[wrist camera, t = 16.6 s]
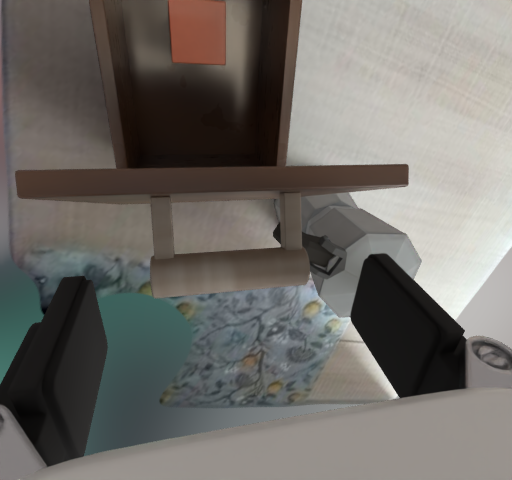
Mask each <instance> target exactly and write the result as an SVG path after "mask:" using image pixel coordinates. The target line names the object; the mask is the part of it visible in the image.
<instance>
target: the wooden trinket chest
mask: <svg viewBox="0 0 512 480" xmlns="http://www.w3.org/2000/svg"><path fill="white" fill-rule="evenodd" d="M217 1H225V2H226V64H225V65H208V64H187V63H173V62H172V57H171V42H170V27H169V12H168V0H89V5H90V11H91V17H92V23H93V30H94V36H95V42H96V48H97V54H98V60H99V66H100V72H101V78H102V84H103V90H104V96H105V102H106V108H107V114H108V120H109V126H110V132H111V138H112V144H113V150H114V156H115V162H116V168H117V169H128V168H192V167H256V166H286V158H287V148H288V138H289V128H290V118H291V108H292V98H293V87H294V77H295V67H296V57H297V47H298V37H299V27H300V17H301V7H302V0H217Z"/></svg>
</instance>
